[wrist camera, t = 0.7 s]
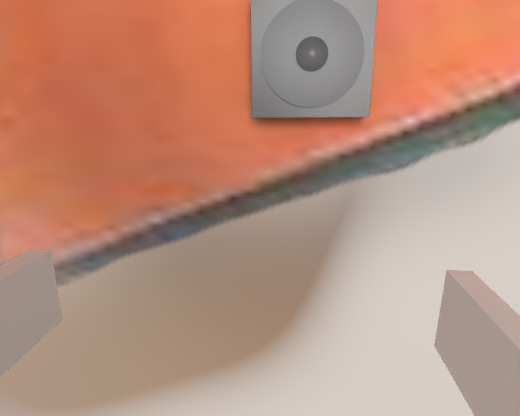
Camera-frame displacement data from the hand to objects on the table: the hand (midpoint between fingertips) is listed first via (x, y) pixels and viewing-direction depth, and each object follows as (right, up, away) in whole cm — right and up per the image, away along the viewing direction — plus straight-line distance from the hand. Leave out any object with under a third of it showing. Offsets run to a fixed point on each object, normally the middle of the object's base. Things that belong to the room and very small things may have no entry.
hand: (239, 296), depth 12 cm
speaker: (+5, +16, +21) cm, 27 cm away
